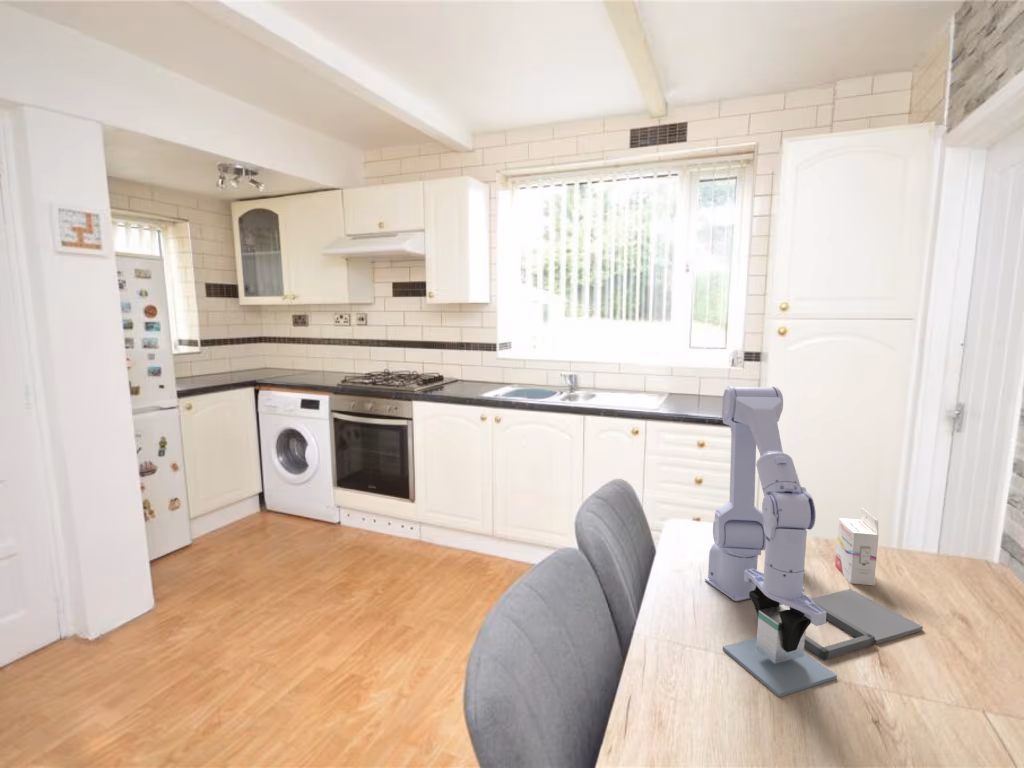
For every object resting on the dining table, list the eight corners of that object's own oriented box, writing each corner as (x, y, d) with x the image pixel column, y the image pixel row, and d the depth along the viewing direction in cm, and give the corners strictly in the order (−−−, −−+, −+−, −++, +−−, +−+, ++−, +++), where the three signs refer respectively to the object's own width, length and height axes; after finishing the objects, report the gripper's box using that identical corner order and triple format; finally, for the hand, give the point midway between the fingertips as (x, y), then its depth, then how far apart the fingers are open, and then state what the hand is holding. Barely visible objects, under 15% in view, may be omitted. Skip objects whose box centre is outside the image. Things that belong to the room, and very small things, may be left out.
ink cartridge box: (833, 565, 120) (838, 504, 118) (857, 567, 119) (862, 506, 117) (849, 584, 111) (855, 519, 109) (875, 586, 110) (881, 520, 108)
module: (755, 648, 87) (758, 610, 86) (783, 641, 89) (786, 603, 88) (775, 664, 83) (778, 623, 82) (803, 656, 85) (806, 616, 84)
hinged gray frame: (758, 615, 100) (759, 608, 100) (850, 592, 108) (850, 585, 108) (823, 660, 87) (824, 652, 86) (922, 630, 95) (923, 623, 94)
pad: (722, 649, 90) (722, 646, 89) (775, 635, 93) (776, 632, 93) (778, 697, 78) (779, 693, 78) (836, 678, 82) (837, 675, 82)
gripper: (843, 581, 78) (836, 663, 80) (767, 542, 92) (763, 613, 93) (808, 589, 76) (802, 673, 78) (736, 548, 89) (732, 620, 91)
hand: (778, 641), depth 85 cm, fingers closed on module, 4 cm apart
